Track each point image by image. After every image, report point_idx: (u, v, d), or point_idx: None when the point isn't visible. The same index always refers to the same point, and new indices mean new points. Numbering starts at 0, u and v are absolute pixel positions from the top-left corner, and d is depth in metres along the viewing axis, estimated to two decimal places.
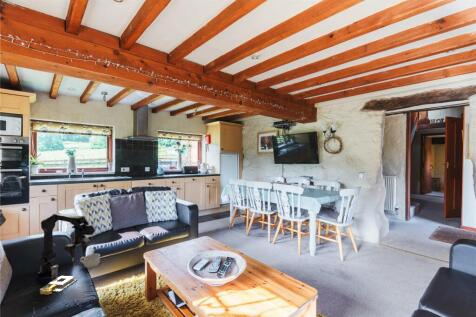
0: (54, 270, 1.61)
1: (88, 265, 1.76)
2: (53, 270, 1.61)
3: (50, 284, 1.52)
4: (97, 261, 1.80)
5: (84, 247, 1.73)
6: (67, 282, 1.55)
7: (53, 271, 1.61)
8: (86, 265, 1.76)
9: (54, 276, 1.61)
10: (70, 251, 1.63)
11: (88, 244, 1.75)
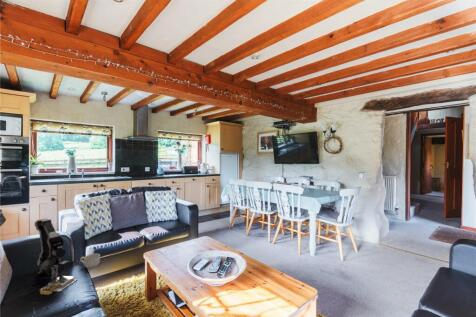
0: (54, 270, 1.61)
1: (88, 265, 1.76)
2: (53, 270, 1.61)
3: (50, 284, 1.52)
4: (97, 261, 1.80)
5: None
6: (67, 282, 1.55)
7: (53, 271, 1.61)
8: (86, 265, 1.76)
9: (54, 276, 1.61)
10: None
11: (60, 269, 1.60)
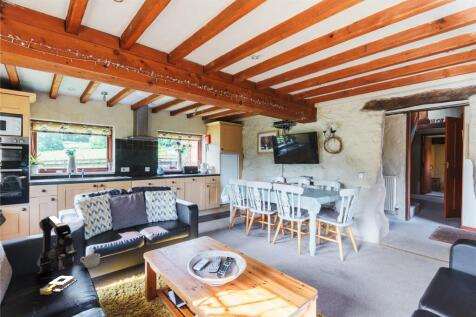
0: (61, 260, 1.55)
1: (88, 265, 1.76)
2: (60, 260, 1.55)
3: (50, 284, 1.52)
4: (97, 261, 1.80)
5: None
6: (67, 282, 1.55)
7: (60, 261, 1.55)
8: (86, 265, 1.76)
9: (61, 266, 1.55)
10: None
11: (64, 259, 1.54)
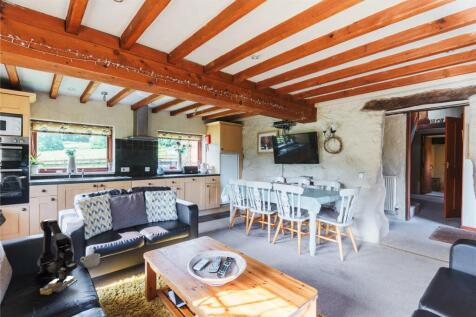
0: (61, 274, 1.55)
1: (88, 265, 1.76)
2: (60, 274, 1.55)
3: (50, 284, 1.52)
4: (97, 261, 1.80)
5: None
6: (67, 282, 1.55)
7: (60, 275, 1.55)
8: (86, 265, 1.76)
9: (61, 280, 1.55)
10: (57, 270, 1.58)
11: (65, 272, 1.54)
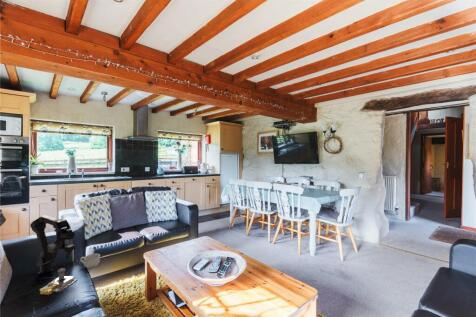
0: (61, 274, 1.55)
1: (88, 265, 1.76)
2: (60, 274, 1.55)
3: (50, 284, 1.52)
4: (97, 261, 1.80)
5: None
6: (67, 282, 1.55)
7: (60, 275, 1.55)
8: (86, 265, 1.76)
9: (61, 280, 1.55)
10: (54, 251, 1.68)
11: (67, 253, 1.64)
